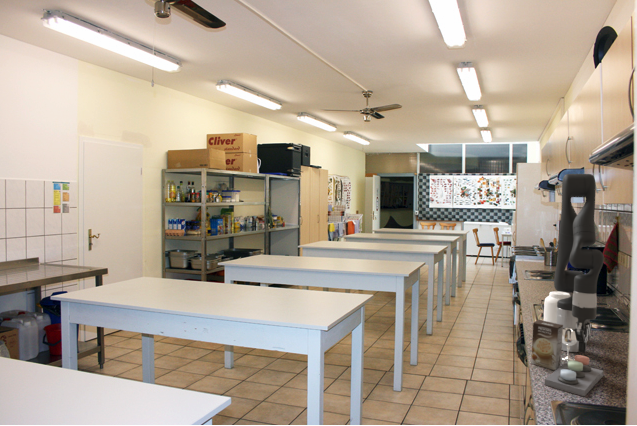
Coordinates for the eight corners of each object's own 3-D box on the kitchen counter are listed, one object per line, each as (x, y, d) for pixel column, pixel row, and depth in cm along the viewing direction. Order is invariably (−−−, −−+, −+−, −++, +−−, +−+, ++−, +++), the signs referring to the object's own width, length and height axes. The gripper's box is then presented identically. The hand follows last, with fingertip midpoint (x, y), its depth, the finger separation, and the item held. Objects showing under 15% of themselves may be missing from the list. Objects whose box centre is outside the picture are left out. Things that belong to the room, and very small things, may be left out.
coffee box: (530, 363, 172) (531, 322, 172) (536, 359, 177) (538, 319, 176) (555, 370, 166) (557, 327, 165) (561, 366, 170) (563, 324, 170)
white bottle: (573, 340, 201) (575, 296, 200) (542, 336, 207) (544, 293, 206) (573, 333, 212) (574, 291, 211) (543, 329, 218) (545, 288, 217)
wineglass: (578, 362, 174) (579, 332, 174) (562, 361, 175) (563, 330, 175) (573, 357, 180) (574, 327, 179) (557, 356, 181) (558, 326, 181)
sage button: (569, 365, 160) (570, 359, 160) (584, 368, 157) (584, 363, 157) (565, 368, 157) (566, 362, 157) (580, 372, 154) (580, 366, 154)
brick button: (576, 359, 166) (576, 354, 166) (590, 362, 163) (590, 357, 163) (572, 362, 163) (572, 357, 163) (587, 366, 159) (587, 360, 159)
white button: (562, 373, 155) (563, 368, 154) (577, 377, 151) (577, 372, 151) (558, 377, 151) (558, 371, 151) (573, 381, 148) (573, 375, 148)
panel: (566, 366, 170) (566, 359, 170) (603, 376, 162) (603, 368, 161) (544, 384, 153) (544, 376, 153) (584, 396, 144) (584, 387, 144)
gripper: (578, 299, 169) (576, 345, 170) (567, 305, 160) (565, 353, 160) (601, 303, 164) (598, 350, 164) (591, 309, 154) (589, 359, 155)
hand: (582, 351), depth 162 cm, fingers closed
